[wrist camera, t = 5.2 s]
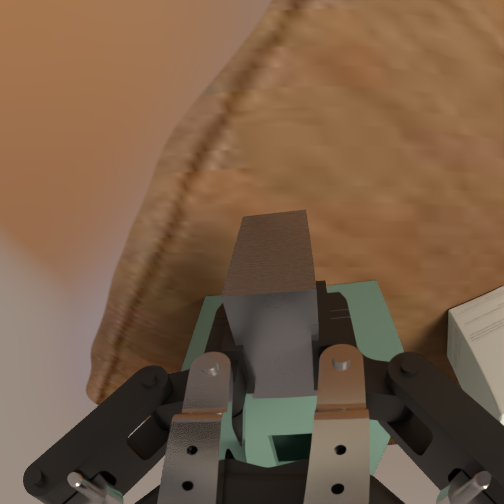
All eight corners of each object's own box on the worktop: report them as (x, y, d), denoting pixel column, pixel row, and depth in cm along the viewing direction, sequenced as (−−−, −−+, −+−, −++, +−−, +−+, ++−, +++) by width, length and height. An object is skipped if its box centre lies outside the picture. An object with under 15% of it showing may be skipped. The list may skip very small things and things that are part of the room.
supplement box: (445, 356, 28) (481, 453, 17) (447, 307, 25) (501, 416, 14) (498, 333, 26) (544, 418, 15) (506, 282, 23) (571, 373, 12)
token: (305, 209, 12) (316, 288, 8) (314, 307, 15) (320, 395, 10) (243, 216, 13) (221, 296, 8) (262, 311, 15) (252, 398, 11)
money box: (376, 280, 24) (412, 376, 15) (361, 404, 32) (371, 478, 23) (205, 296, 26) (174, 393, 17) (243, 413, 34) (234, 486, 26)
